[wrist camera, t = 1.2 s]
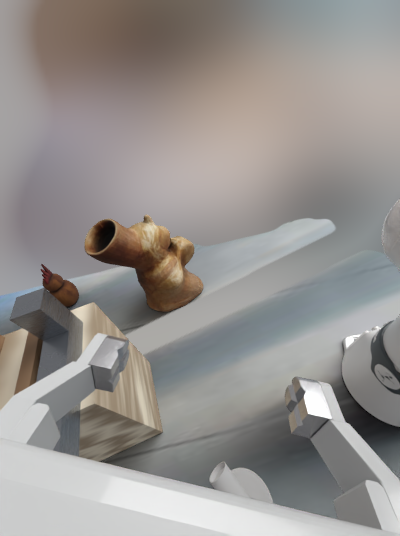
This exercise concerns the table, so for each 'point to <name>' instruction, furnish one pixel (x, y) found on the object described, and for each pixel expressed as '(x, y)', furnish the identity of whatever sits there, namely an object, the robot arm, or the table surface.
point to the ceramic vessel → (148, 260)
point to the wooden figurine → (60, 288)
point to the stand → (99, 401)
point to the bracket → (53, 350)
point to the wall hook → (239, 482)
